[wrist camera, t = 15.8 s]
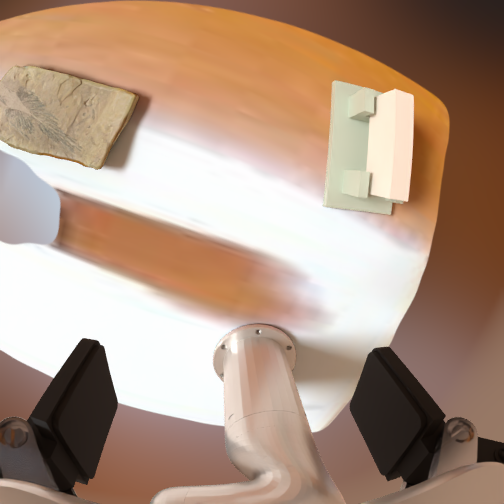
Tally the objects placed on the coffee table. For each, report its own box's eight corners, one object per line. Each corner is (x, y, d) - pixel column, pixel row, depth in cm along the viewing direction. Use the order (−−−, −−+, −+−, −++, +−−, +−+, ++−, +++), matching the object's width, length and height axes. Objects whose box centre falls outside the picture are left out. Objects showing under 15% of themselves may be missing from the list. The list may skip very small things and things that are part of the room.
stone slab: (-4, 62, 22) (134, 83, 27) (10, 67, 26) (144, 92, 31) (-30, 133, 24) (95, 180, 29) (-15, 134, 28) (109, 180, 33)
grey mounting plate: (386, 213, 37) (411, 221, 31) (322, 205, 36) (341, 213, 30) (394, 100, 33) (420, 91, 27) (332, 82, 32) (351, 68, 26)
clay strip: (369, 99, 29) (395, 88, 23) (386, 104, 29) (413, 95, 24) (363, 193, 32) (389, 198, 27) (380, 195, 33) (407, 201, 27)
